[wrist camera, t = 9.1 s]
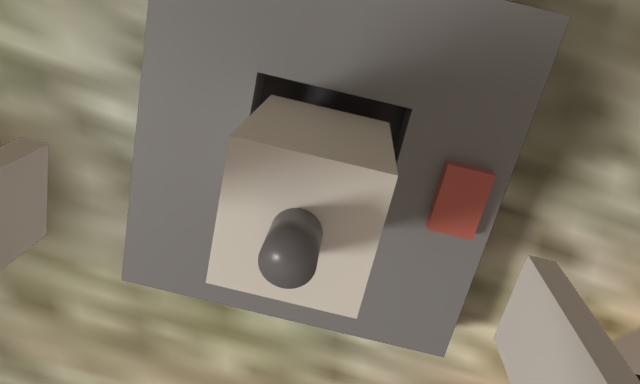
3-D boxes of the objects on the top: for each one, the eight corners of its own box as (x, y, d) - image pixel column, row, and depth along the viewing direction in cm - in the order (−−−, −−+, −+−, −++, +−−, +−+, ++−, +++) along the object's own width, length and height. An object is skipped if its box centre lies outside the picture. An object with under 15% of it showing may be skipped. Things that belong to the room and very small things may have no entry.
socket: (178, -74, 22) (150, -85, 19) (549, 13, 22) (576, 16, 19) (142, 256, 28) (116, 286, 25) (437, 327, 28) (445, 365, 25)
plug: (279, 86, 24) (210, 154, 13) (387, 111, 24) (402, 200, 13) (260, 187, 26) (185, 317, 15) (360, 211, 26) (355, 358, 15)
